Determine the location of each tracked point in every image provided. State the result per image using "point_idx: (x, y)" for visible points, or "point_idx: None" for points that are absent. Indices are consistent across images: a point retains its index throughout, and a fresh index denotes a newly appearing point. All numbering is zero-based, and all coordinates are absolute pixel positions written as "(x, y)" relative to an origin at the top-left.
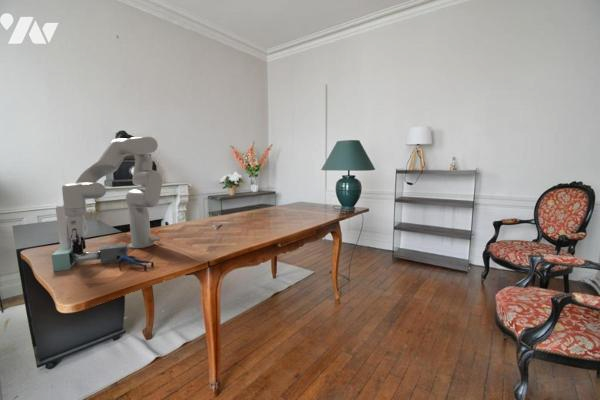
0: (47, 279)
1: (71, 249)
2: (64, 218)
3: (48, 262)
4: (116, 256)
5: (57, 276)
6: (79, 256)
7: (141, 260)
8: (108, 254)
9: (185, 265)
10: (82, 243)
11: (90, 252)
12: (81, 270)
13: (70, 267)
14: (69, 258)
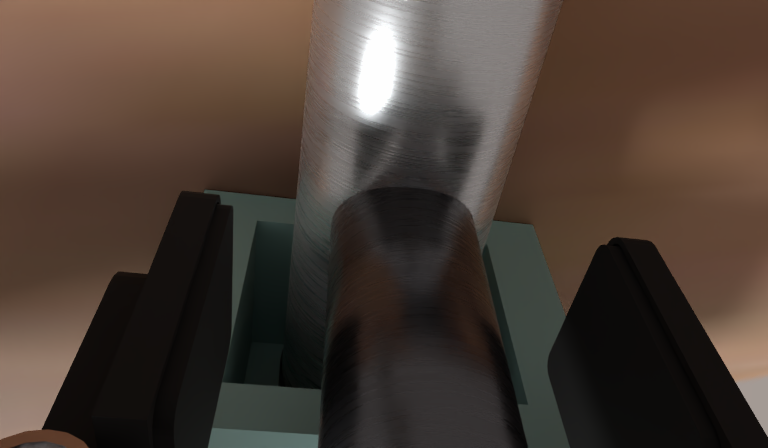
0: (755, 366)
1: (307, 438)
2: None
3: (40, 426)
4: None
5: (738, 307)
6: (488, 218)
7: None
8: None
9: None
10: (449, 411)
11: (493, 32)
12: (745, 85)
13: (500, 229)
14: (537, 343)
